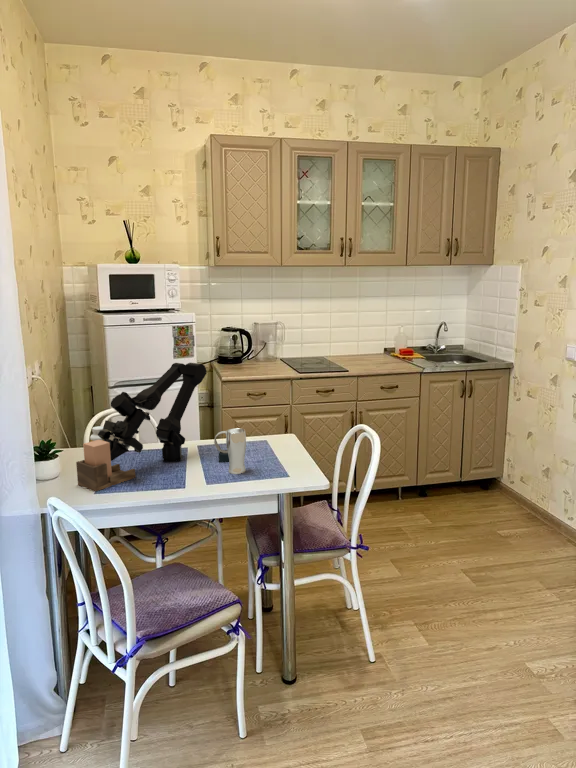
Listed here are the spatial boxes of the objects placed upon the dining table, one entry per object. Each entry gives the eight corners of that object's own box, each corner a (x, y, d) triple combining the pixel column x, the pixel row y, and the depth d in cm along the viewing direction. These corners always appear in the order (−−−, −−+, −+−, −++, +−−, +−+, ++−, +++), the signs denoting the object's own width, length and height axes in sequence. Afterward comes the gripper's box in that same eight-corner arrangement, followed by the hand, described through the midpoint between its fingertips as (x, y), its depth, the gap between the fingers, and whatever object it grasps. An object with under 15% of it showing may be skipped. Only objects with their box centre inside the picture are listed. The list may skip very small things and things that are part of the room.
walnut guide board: (118, 471, 209) (116, 450, 207) (135, 477, 203) (134, 455, 201) (78, 484, 196) (76, 461, 195) (95, 491, 190) (93, 467, 189)
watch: (235, 462, 218) (234, 433, 216) (214, 462, 218) (213, 433, 215) (236, 457, 223) (236, 429, 221) (215, 457, 223) (214, 429, 221)
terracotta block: (101, 476, 201) (98, 439, 198) (112, 479, 197) (109, 442, 195) (86, 481, 196) (83, 443, 194) (96, 484, 193) (93, 446, 190)
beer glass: (228, 468, 211) (227, 427, 208) (247, 468, 211) (246, 427, 208) (225, 474, 204) (224, 433, 202) (245, 474, 204) (244, 433, 201)
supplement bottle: (106, 463, 218) (104, 430, 215) (89, 463, 218) (86, 430, 215) (112, 457, 224) (110, 425, 222) (95, 457, 224) (92, 425, 222)
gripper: (100, 407, 205) (74, 445, 199) (133, 414, 194) (107, 455, 187) (120, 424, 213) (96, 461, 206) (154, 432, 201) (129, 472, 195)
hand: (106, 462), depth 198 cm, fingers closed, pressing on terracotta block
